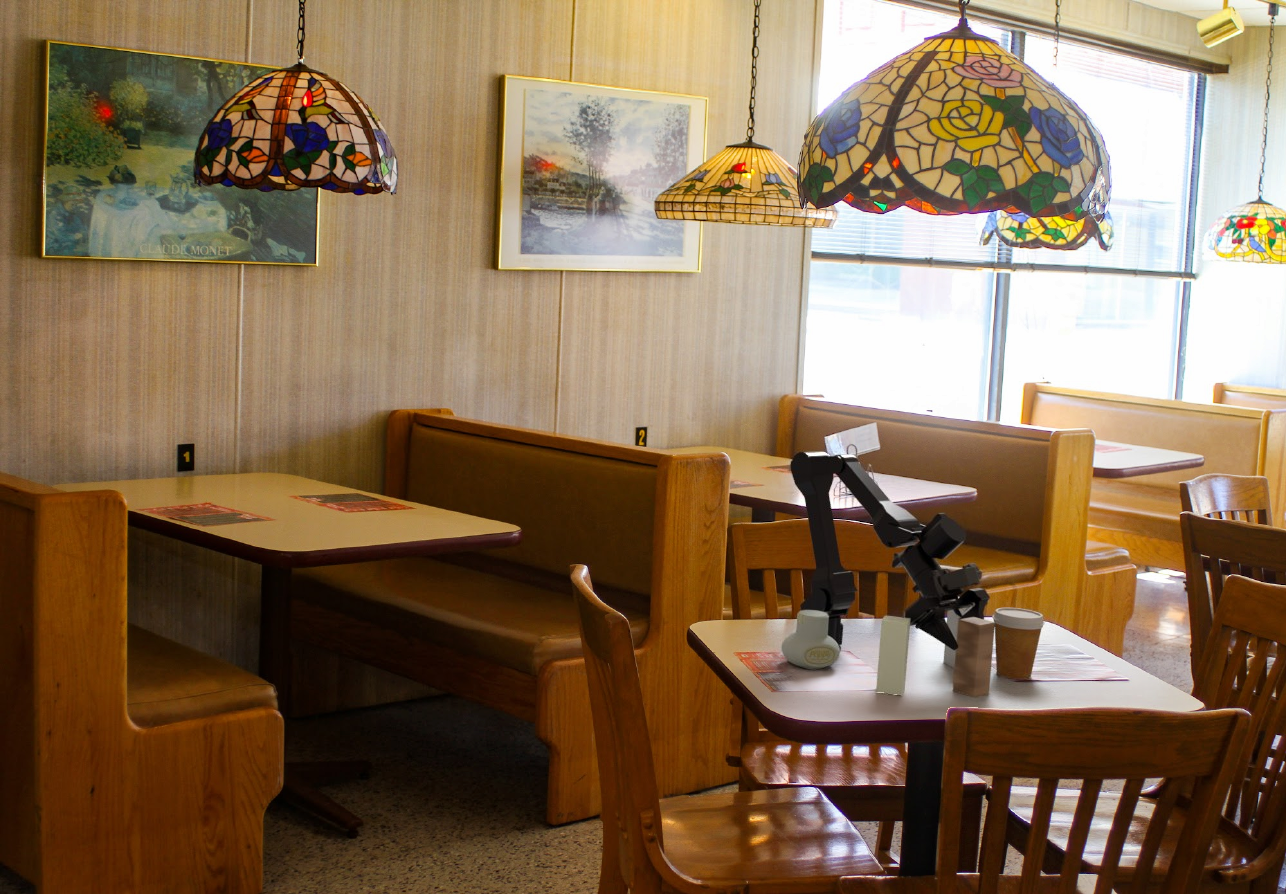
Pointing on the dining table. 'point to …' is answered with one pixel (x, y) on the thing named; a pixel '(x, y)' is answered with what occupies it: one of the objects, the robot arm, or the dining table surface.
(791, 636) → the air freshener
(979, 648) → the walnut post
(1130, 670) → the dining table surface
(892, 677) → the sage post
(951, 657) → the grey post
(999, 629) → the disposable coffee cup
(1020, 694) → the dining table surface
